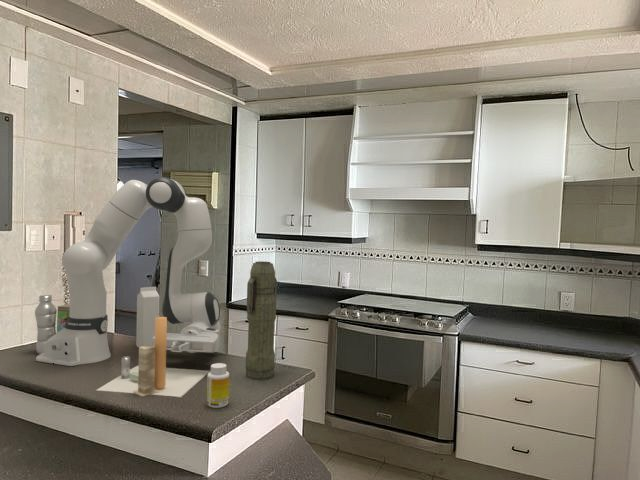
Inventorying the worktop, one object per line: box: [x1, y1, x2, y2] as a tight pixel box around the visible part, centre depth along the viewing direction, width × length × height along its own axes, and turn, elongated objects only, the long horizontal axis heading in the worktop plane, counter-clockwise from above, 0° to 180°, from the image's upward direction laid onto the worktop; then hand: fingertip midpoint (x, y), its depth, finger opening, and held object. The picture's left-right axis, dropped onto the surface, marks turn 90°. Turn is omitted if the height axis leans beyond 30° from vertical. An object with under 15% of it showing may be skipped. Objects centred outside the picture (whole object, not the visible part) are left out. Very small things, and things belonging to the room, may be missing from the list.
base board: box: [96, 365, 211, 399], centre depth 139 cm, size 24×22×1 cm
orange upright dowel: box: [129, 316, 168, 388], centre depth 135 cm, size 14×3×19 cm, turn 58°
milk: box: [135, 286, 160, 348], centre depth 175 cm, size 6×6×22 cm
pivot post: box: [120, 355, 131, 379], centre depth 140 cm, size 2×2×6 cm
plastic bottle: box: [34, 294, 58, 355], centre depth 163 cm, size 6×7×20 cm
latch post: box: [132, 345, 160, 398], centre depth 129 cm, size 5×5×13 cm
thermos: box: [245, 260, 278, 381], centre depth 147 cm, size 9×12×35 cm
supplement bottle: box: [206, 362, 230, 409], centre depth 123 cm, size 6×6×10 cm
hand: (175, 349), depth 141 cm, fingers closed
